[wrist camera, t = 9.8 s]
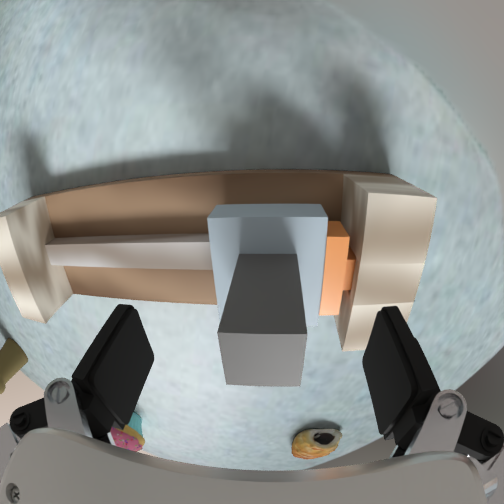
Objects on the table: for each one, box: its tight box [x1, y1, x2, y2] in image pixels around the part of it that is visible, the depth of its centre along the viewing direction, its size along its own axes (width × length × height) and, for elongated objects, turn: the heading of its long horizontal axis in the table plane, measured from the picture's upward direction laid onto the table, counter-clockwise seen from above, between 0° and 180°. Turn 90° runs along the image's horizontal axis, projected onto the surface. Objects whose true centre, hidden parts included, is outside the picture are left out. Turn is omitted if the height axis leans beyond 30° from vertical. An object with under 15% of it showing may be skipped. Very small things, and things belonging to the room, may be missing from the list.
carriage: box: [207, 204, 328, 386], centre depth 14 cm, size 7×6×10 cm
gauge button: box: [319, 221, 356, 315], centre depth 15 cm, size 5×6×2 cm
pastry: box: [292, 429, 342, 459], centre depth 32 cm, size 9×7×4 cm
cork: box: [0, 338, 28, 394], centre depth 29 cm, size 6×6×11 cm
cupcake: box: [110, 412, 145, 452], centre depth 30 cm, size 9×8×12 cm
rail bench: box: [0, 169, 437, 351], centre depth 18 cm, size 10×32×6 cm, turn 92°
